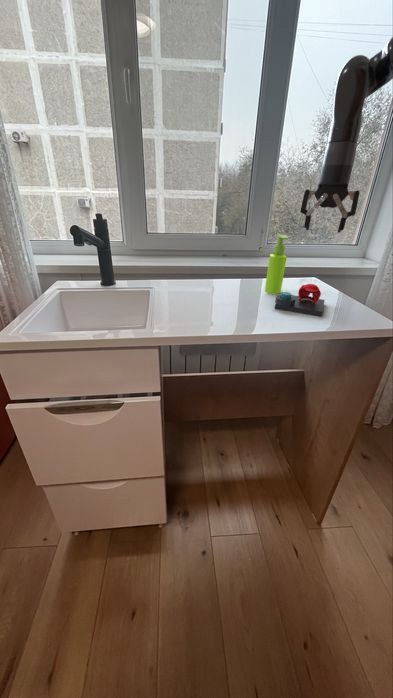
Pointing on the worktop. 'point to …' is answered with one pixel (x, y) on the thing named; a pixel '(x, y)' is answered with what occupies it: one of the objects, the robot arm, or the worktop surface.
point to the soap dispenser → (276, 267)
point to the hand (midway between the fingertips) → (322, 231)
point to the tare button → (286, 295)
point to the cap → (308, 289)
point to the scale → (300, 305)
